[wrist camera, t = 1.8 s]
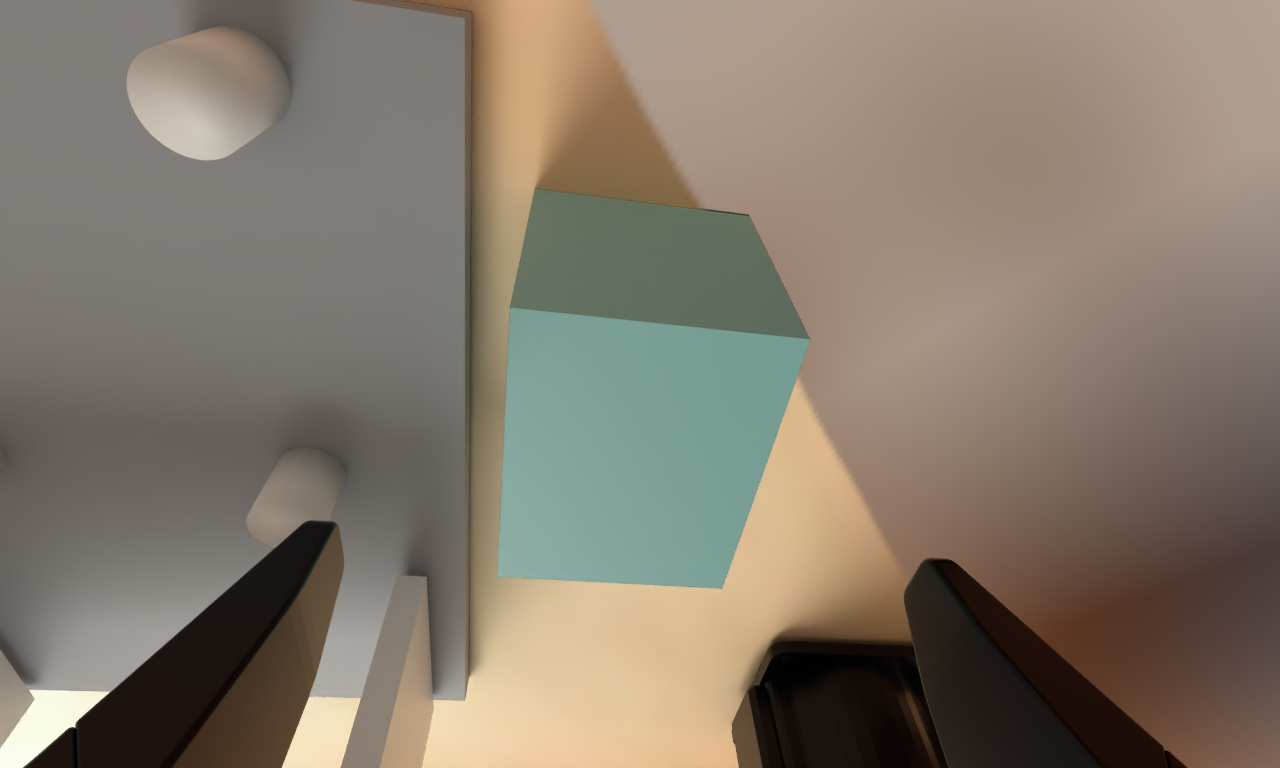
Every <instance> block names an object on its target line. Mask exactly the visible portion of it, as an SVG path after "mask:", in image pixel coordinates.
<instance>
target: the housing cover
mask: <svg viewBox="0 0 1280 768" xmlns="http://www.w3.org/2000/svg"><path fill="white" fill-rule="evenodd" d="M33 701H34V697H33V696H32V694H31V693H30V692H29V690H28V689H27V687H26V686H25V684H24V683H23V681H22V680H21V679H20V677H19V676H18V674H17V673H16V671H15V670H14V669H13V667H12V666H11V664H10V663H9V661H8V660H7V659H6V657H5V656H4V654H3V653H2V651H1V650H0V748H1V746H2V745H3V744H4V742H5V741H6V739H7V738H8V736H9V735H10V734H11V732H12V731H13V729H14V728H15V726H16V725H17V724H18V722H19V721H20V719H21V718H22V716H23V715H24V714H25V712H26V711H27V709H28V708H29V706H30V705H31V703H32V702H33ZM432 714H433V689H432V670H431V651H430V632H429V613H428V593H427V577H423V576H403V575H397V577H396V580H395V583H394V587H393V590H392V594H391V597H390V601H389V604H388V607H387V611H386V614H385V618H384V621H383V625H382V628H381V631H380V635H379V638H378V642H377V645H376V649H375V652H374V655H373V659H372V662H371V666H370V669H369V673H368V676H367V680H366V683H365V686H364V690H363V693H362V697H361V700H360V704H359V707H358V710H357V714H356V717H355V721H354V724H353V728H352V731H351V734H350V738H349V741H348V745H347V748H346V752H345V755H344V758H343V762H342V765H341V768H422V764H423V759H424V754H425V749H426V744H427V739H428V734H429V729H430V724H431V719H432Z"/></svg>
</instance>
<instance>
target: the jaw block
mask: <svg viewBox="0 0 1280 768" xmlns="http://www.w3.org/2000/svg"><path fill="white" fill-rule="evenodd" d="M809 342H810V338H809V336H808V334H807V332H806V329H805V328H804V325H803V324H802V321H801V319H800V317H799V315H798V313H797V311H796V309H795V307H794V305H793V303H792V301H791V299H790V297H789V295H788V294H787V291H786V289H785V287H784V285H783V283H782V281H781V279H780V277H779V275H778V273H777V271H776V269H775V267H774V265H773V263H772V261H771V259H770V257H769V255H768V253H767V250H766V248H765V246H764V244H763V242H762V240H761V238H760V236H759V234H758V232H757V230H756V228H755V226H754V224H753V222H752V220H751V218H750V216H749V215H748V214H741V213H733V212H726V211H718V210H711V209H703V210H698V209H691V208H683V207H675V206H667V205H660V204H652V203H644V202H637V201H629V200H621V199H613V198H606V197H598V196H590V195H583V194H575V193H567V192H559V191H552V190H544V189H536V188H535V190H534V195H533V200H532V205H531V209H530V214H529V219H528V224H527V229H526V233H525V238H524V243H523V248H522V252H521V257H520V262H519V267H518V272H517V276H516V281H515V286H514V291H513V296H512V300H511V305H510V318H509V339H508V361H507V382H506V403H505V425H504V446H503V467H502V489H501V510H500V531H499V553H498V574H497V577H510V578H529V579H549V580H568V581H587V582H606V583H625V584H644V585H663V586H682V587H701V588H721V589H722V588H723V585H724V582H725V579H726V576H727V574H728V571H729V568H730V565H731V562H732V559H733V557H734V554H735V551H736V548H737V545H738V542H739V540H740V537H741V534H742V531H743V528H744V526H745V523H746V520H747V517H748V514H749V511H750V509H751V506H752V503H753V500H754V497H755V494H756V492H757V489H758V486H759V483H760V480H761V478H762V475H763V472H764V469H765V466H766V463H767V461H768V458H769V455H770V452H771V449H772V446H773V444H774V441H775V438H776V435H777V432H778V430H779V427H780V424H781V421H782V418H783V415H784V413H785V410H786V407H787V404H788V401H789V398H790V396H791V393H792V390H793V387H794V384H795V382H796V379H797V376H798V373H799V370H800V367H801V364H802V361H803V359H804V356H805V353H806V350H807V348H808V345H809Z"/></svg>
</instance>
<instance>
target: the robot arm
mask: <svg viewBox="0 0 1280 768" xmlns="http://www.w3.org/2000/svg"><path fill="white" fill-rule="evenodd" d="M343 571H344V554H343V548H342V541H341V535H340V529H339V526H338V524H337V523H336V522H333V521H318V520H309V521H306V522H304V523H303V524H302V525H300V526H299V527H298V528H297V529H296V530H295V531H294V532H292V533H291V534H290V535H289V536H288V537H287V538H286V539H284V540H283V541H282V542H281V543H280V544H279V545H278V546H276V547H275V548H274V549H273V550H272V551H271V552H270V553H268V554H267V555H266V556H265V557H264V558H263V559H262V560H260V561H259V562H258V563H257V564H256V565H255V566H254V567H252V568H251V569H250V570H249V571H248V572H247V573H246V574H244V575H243V576H242V577H241V578H240V579H239V580H238V581H236V582H235V583H234V584H233V585H232V586H231V587H230V588H228V589H227V590H226V591H225V592H224V593H223V594H222V595H220V596H219V597H218V598H217V599H216V600H215V601H214V602H212V603H211V604H210V605H209V606H208V607H207V608H206V609H205V610H203V611H202V612H201V613H200V614H199V615H198V616H197V617H195V618H194V619H193V620H192V621H191V622H190V623H189V624H187V625H186V626H185V627H184V628H183V629H182V630H181V631H179V632H178V633H177V634H176V635H175V636H174V637H173V638H171V639H170V640H169V641H168V642H167V643H166V644H165V645H163V646H162V647H161V648H160V649H159V650H158V651H157V652H155V653H154V654H153V655H152V656H151V657H150V658H149V659H147V660H146V661H145V662H144V663H143V664H142V665H141V666H139V667H138V668H137V669H136V670H135V671H134V672H133V673H131V674H130V675H129V676H128V677H127V678H126V679H125V680H124V681H122V682H121V683H120V684H119V685H118V686H117V687H116V688H114V689H113V690H112V691H111V692H110V693H109V694H108V695H106V696H105V697H104V698H103V699H102V700H101V701H100V702H98V703H97V704H96V705H95V706H94V707H93V708H92V709H90V710H89V711H88V712H87V713H86V714H85V715H84V716H82V717H81V718H80V719H79V720H78V721H77V722H76V725H75V728H74V727H71V728H68V729H67V730H66V731H65V732H64V733H63V734H62V735H60V736H59V737H58V738H57V739H56V740H55V741H54V742H52V743H51V744H50V745H49V746H48V747H47V748H46V749H44V750H43V751H42V752H41V753H40V754H39V755H38V756H36V757H35V758H34V759H33V760H32V761H30V762H29V763H28V764H27V765H26V766H25V767H23V768H282V765H283V763H284V760H285V758H286V755H287V752H288V750H289V747H290V745H291V742H292V739H293V737H294V734H295V732H296V729H297V726H298V724H299V721H300V719H301V716H302V713H303V711H304V708H305V706H306V703H307V700H308V698H309V695H310V692H311V690H312V687H313V684H314V681H315V678H316V675H317V672H318V668H319V664H320V661H321V657H322V653H323V649H324V645H325V642H326V638H327V634H328V630H329V626H330V622H331V618H332V615H333V611H334V607H335V603H336V599H337V595H338V591H339V587H340V584H341V580H342V576H343ZM904 604H905V609H906V614H907V618H908V623H909V627H910V632H911V636H912V641H913V645H914V647H904V646H879V645H853V644H828V643H803V642H779V643H776V644H774V645H772V646H771V647H770V648H769V649H768V651H767V653H766V655H765V657H764V660H763V662H762V664H761V666H760V669H759V671H758V673H757V675H756V677H755V680H754V682H753V684H752V686H751V687H750V688H749V689H748V690H747V692H746V694H745V696H744V698H743V701H742V703H741V705H740V707H739V710H738V712H737V714H736V716H735V718H734V721H733V723H732V737H733V742H734V744H735V746H736V752H737V758H738V764H739V768H1188V767H1186V766H1185V765H1184V764H1183V763H1182V762H1181V761H1180V760H1179V759H1177V758H1176V757H1175V756H1174V755H1173V754H1172V753H1171V752H1169V751H1165V750H1164V747H1163V746H1162V745H1161V744H1160V743H1159V742H1158V741H1157V740H1156V739H1154V738H1153V737H1152V736H1151V735H1150V734H1149V733H1148V732H1147V731H1145V730H1144V729H1143V728H1142V727H1141V726H1140V725H1139V724H1138V723H1136V722H1135V721H1134V720H1133V719H1132V718H1131V717H1130V716H1129V715H1127V714H1126V713H1125V712H1124V711H1123V710H1122V709H1121V708H1119V707H1118V706H1117V705H1116V704H1115V703H1114V702H1113V701H1111V700H1110V699H1109V698H1108V697H1107V696H1106V695H1105V694H1104V693H1102V692H1101V691H1100V690H1099V689H1098V688H1097V687H1096V686H1095V685H1093V684H1092V683H1091V682H1090V681H1089V680H1088V679H1087V678H1085V677H1084V676H1083V675H1082V674H1081V673H1080V672H1079V671H1078V670H1076V669H1075V668H1074V667H1073V666H1072V665H1071V664H1070V663H1068V662H1067V661H1066V660H1065V659H1064V658H1063V657H1062V656H1060V655H1059V654H1058V653H1057V652H1056V651H1055V650H1054V649H1053V648H1051V647H1050V646H1049V645H1048V644H1047V643H1046V642H1045V641H1044V640H1042V639H1041V638H1040V637H1039V636H1038V635H1037V634H1036V633H1035V632H1033V631H1032V630H1031V629H1030V628H1029V627H1028V626H1027V625H1025V624H1024V623H1023V622H1022V621H1021V620H1020V619H1019V618H1018V617H1016V616H1015V615H1014V614H1013V613H1012V612H1010V611H1009V610H1008V609H1007V608H1006V607H1005V606H1004V605H1003V604H1001V603H1000V602H999V601H998V600H997V599H996V598H995V597H994V596H993V595H991V594H990V593H989V592H988V591H987V590H986V589H985V588H983V587H982V586H981V585H980V584H979V583H978V582H977V581H976V580H974V579H973V578H972V577H971V576H970V575H969V574H968V573H967V572H965V571H964V570H963V569H962V568H961V567H960V566H959V565H958V564H956V563H955V562H953V561H952V560H949V559H939V558H927V559H925V560H923V562H922V563H921V564H920V566H919V567H918V569H917V571H916V572H915V574H914V576H913V577H912V579H911V581H910V582H909V584H908V586H907V587H906V590H905V594H904Z"/></svg>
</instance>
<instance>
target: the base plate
mask: <svg viewBox="0 0 1280 768" xmlns="http://www.w3.org/2000/svg"><path fill="white" fill-rule="evenodd" d="M471 104H472V12H471V11H464V10H458V9H452V8H446V7H440V6H433V5H427V4H421V3H415V2H408V1H402V0H0V650H1V651H2V653H3V654H4V656H5V657H6V659H7V660H8V661H9V663H10V664H11V666H12V667H13V669H14V670H15V671H16V673H17V674H18V676H19V677H20V679H21V680H22V681H23V683H24V684H25V686H26V687H27V689H29V690H68V691H108V692H111V691H112V690H113V689H114V688H116V687H117V686H118V685H119V684H120V683H121V682H122V681H124V680H125V679H126V678H127V677H128V676H129V675H130V674H131V673H133V672H134V671H135V670H136V669H137V668H138V667H139V666H141V665H142V664H143V663H144V662H145V661H146V660H147V659H149V658H150V657H151V656H152V655H153V654H154V653H155V652H157V651H158V650H159V649H160V648H161V647H162V646H163V645H165V644H166V643H167V642H168V641H169V640H170V639H171V638H173V637H174V636H175V635H176V634H177V633H178V632H179V631H181V630H182V629H183V628H184V627H185V626H186V625H187V624H189V623H190V622H191V621H192V620H193V619H194V618H195V617H197V616H198V615H199V614H200V613H201V612H202V611H203V610H205V609H206V608H207V607H208V606H209V605H210V604H211V603H212V602H214V601H215V600H216V599H217V598H218V597H219V596H220V595H222V594H223V593H224V592H225V591H226V590H227V589H228V588H230V587H231V586H232V585H233V584H234V583H235V582H236V581H238V580H239V579H240V578H241V577H242V576H243V575H244V574H246V573H247V572H248V571H249V570H250V569H251V568H252V567H254V566H255V565H256V564H257V563H258V562H259V561H260V560H262V559H263V558H264V557H265V556H266V555H267V554H268V553H270V552H271V551H272V550H273V549H274V548H275V547H276V546H278V545H279V544H280V543H281V542H282V541H283V540H284V539H286V538H287V537H288V536H289V535H290V534H291V533H292V532H294V531H295V530H296V529H297V528H298V527H299V526H300V525H302V524H303V523H304V522H306V521H309V520H318V521H333V522H336V523H337V524H338V526H339V529H340V535H341V541H342V548H343V554H344V571H343V576H342V580H341V584H340V587H339V591H338V595H337V599H336V603H335V607H334V611H333V615H332V618H331V622H330V626H329V630H328V634H327V638H326V642H325V645H324V649H323V653H322V657H321V661H320V664H319V668H318V672H317V675H316V678H315V681H314V684H313V687H312V690H311V692H310V695H309V697H344V698H361V697H362V693H363V690H364V686H365V683H366V680H367V676H368V673H369V669H370V666H371V662H372V659H373V655H374V652H375V649H376V645H377V642H378V638H379V635H380V631H381V628H382V625H383V621H384V618H385V614H386V611H387V607H388V604H389V601H390V597H391V594H392V590H393V587H394V583H395V580H396V577H397V575H403V576H423V577H427V593H428V613H429V632H430V651H431V670H432V689H433V700H461V701H465V698H466V691H467V685H468V679H469V495H470V299H471Z"/></svg>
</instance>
